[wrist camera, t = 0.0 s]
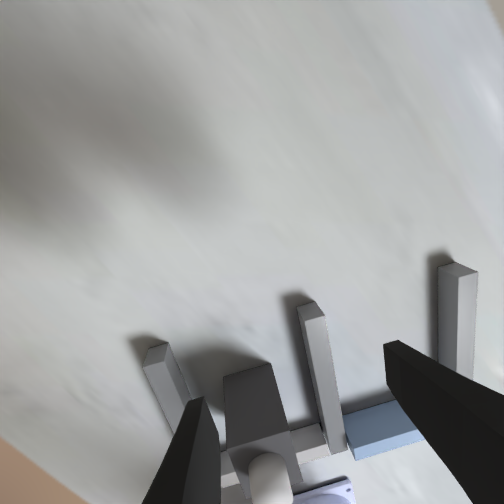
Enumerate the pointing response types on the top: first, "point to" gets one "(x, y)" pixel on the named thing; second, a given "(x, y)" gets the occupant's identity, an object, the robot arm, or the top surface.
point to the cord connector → (259, 437)
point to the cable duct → (325, 386)
